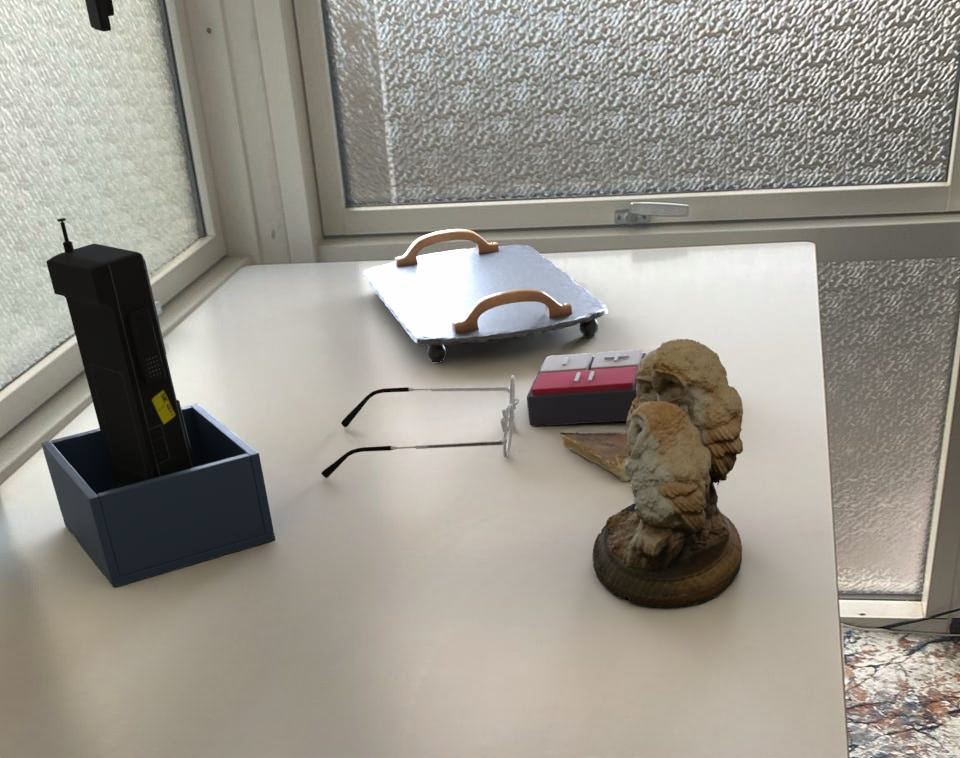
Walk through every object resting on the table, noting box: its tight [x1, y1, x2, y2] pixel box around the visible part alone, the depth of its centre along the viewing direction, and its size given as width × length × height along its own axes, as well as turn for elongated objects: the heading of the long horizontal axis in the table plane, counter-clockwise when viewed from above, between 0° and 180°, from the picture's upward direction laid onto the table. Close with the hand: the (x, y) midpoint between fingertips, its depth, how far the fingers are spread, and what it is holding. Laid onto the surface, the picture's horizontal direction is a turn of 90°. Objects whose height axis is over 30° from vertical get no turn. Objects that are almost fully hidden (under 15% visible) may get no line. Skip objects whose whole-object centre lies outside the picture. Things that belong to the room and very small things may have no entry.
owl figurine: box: [592, 338, 744, 609], centre depth 102 cm, size 18×12×17 cm, turn 176°
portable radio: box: [45, 217, 196, 490], centre depth 111 cm, size 8×6×25 cm
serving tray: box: [362, 228, 609, 363], centre depth 161 cm, size 39×23×6 cm, turn 15°
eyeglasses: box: [320, 374, 520, 479], centre depth 128 cm, size 16×19×5 cm
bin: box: [40, 403, 276, 588], centre depth 116 cm, size 15×16×8 cm
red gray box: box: [526, 348, 654, 427], centre depth 133 cm, size 11×4×15 cm
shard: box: [559, 431, 631, 483], centre depth 124 cm, size 11×8×2 cm
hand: (37, 39), depth 98 cm, fingers open, 9 cm apart
